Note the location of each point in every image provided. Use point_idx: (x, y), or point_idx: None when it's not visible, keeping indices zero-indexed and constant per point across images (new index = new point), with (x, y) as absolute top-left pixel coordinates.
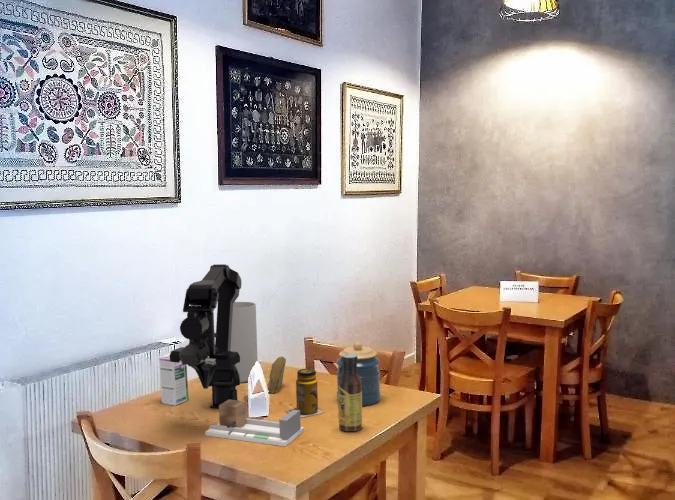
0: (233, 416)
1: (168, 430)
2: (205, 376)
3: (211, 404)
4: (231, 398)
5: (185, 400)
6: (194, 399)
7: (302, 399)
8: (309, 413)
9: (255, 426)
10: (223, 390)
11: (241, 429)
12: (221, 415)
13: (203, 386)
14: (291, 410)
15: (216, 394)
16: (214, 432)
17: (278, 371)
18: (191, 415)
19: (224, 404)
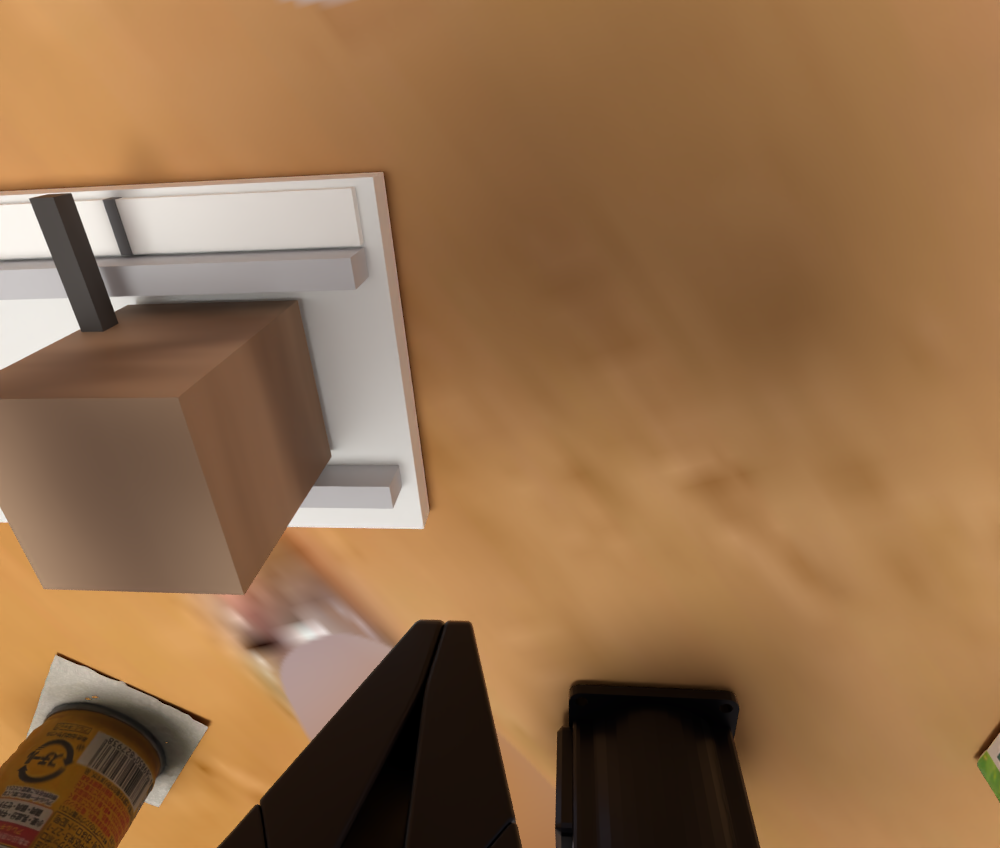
0: (66, 351)
1: (841, 146)
2: (286, 841)
3: (731, 717)
4: (566, 775)
5: (995, 747)
6: (934, 780)
7: (8, 797)
8: (49, 717)
9: None
10: (625, 833)
11: (11, 268)
12: (213, 345)
13: (455, 644)
14: (181, 736)
15: (690, 793)
16: (274, 191)
17: None
18: (797, 536)
19: (144, 445)
